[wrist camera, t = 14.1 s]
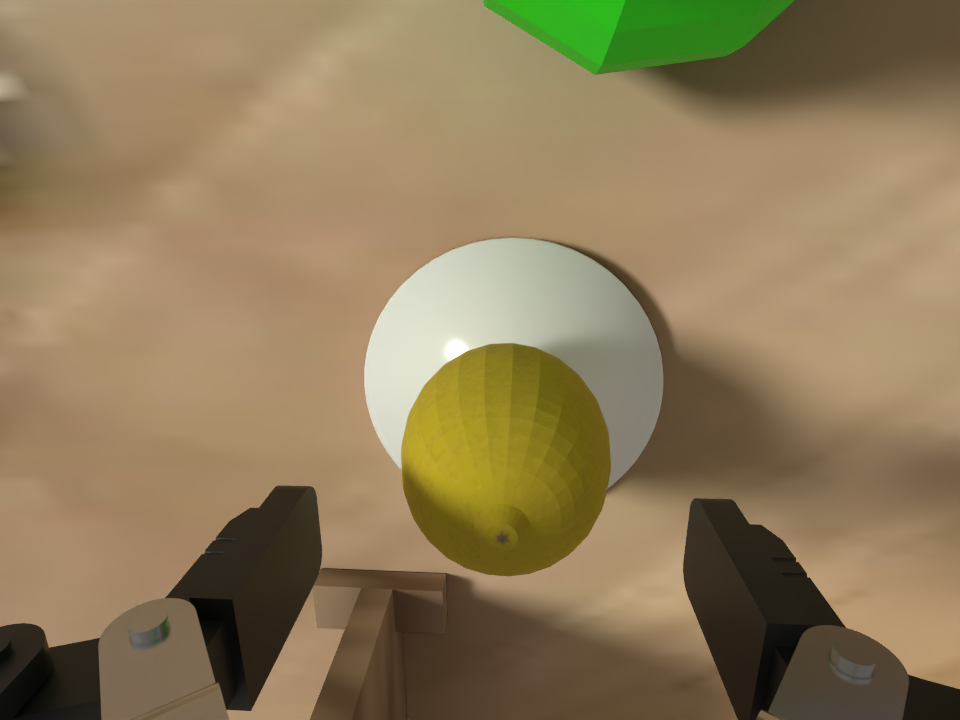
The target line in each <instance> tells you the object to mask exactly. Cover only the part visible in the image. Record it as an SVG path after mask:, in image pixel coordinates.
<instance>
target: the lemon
mask: <svg viewBox="0 0 960 720" xmlns="http://www.w3.org/2000/svg"><path fill="white" fill-rule="evenodd" d="M401 466H402V482H403V489H404V493H405V496H406V499H407V502H408V505H409V508H410V511H411V513H412V516H413V518H414V520H415V522H416V523H417V525H418V526H419V528H420V529H421V531H422V532H423V534H424V535H425V537H426V538H427V540H428V541H429V542H430V543H431V544H432V545H434V546H435V547H436V548H437V549H438V550H439V551H440V552H441V553H442V554H443V555H445V556H446V557H447V558H448V559H450V560H452V561H454V562H456V563H457V564H459V565H461V566H463V567H465V568H467V569H470V570H474V571H477V572H480V573H484V574H488V575H499V576H515V575H523V574H530V573H533V572H536V571H539V570H542V569H544V568H547V567H550V566H552V565H553V564H555V563H556V562H558V561H560V560H561V559H563V558H564V557H566V556H568V555H569V554H570V553H571V552H572V551H573V550H574V549H575V548H576V547H577V546H578V545H579V544H580V543H581V542H582V541H583V540H584V539H585V538H586V537H587V536H588V534H589V532H590V531H591V529H592V527H593V525H594V523H595V521H596V520H597V518H598V516H599V514H600V512H601V510H602V507H603V504H604V501H605V496H606V492H607V487H608V483H609V478H610V472H611V458H610V443H609V433H608V428H607V425H606V423H605V420H604V417H603V415H602V412H601V409H600V406H599V404H598V401H597V399H596V398H595V396H594V395H593V393H592V392H591V391H590V389H589V388H588V386H587V385H586V384H585V382H584V381H583V380H582V378H581V377H580V376H579V375H578V374H577V373H576V372H575V371H574V370H573V369H571V368H570V367H569V366H568V365H567V364H565V363H564V362H563V361H562V360H560V359H559V358H557V357H555V356H553V355H551V354H549V353H547V352H544V351H542V350H540V349H538V348H536V347H531V346H526V345H521V344H516V343H501V344H488V345H485V346H482V347H478V348H475V349H472V350H469V351H466V352H464V353H462V354H461V355H459V356H457V357H456V358H454V359H452V360H451V361H449V362H447V363H446V364H445V365H443V366H442V367H441V368H440V369H439V370H438V371H437V372H436V373H435V374H434V375H433V376H432V378H431V379H430V380H429V381H428V382H427V383H426V384H425V385H424V386H423V388H422V390H421V392H420V394H419V395H418V397H417V399H416V401H415V403H414V405H413V406H412V408H411V410H410V412H409V415H408V418H407V423H406V427H405V431H404V436H403V440H402V446H401Z"/></svg>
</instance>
